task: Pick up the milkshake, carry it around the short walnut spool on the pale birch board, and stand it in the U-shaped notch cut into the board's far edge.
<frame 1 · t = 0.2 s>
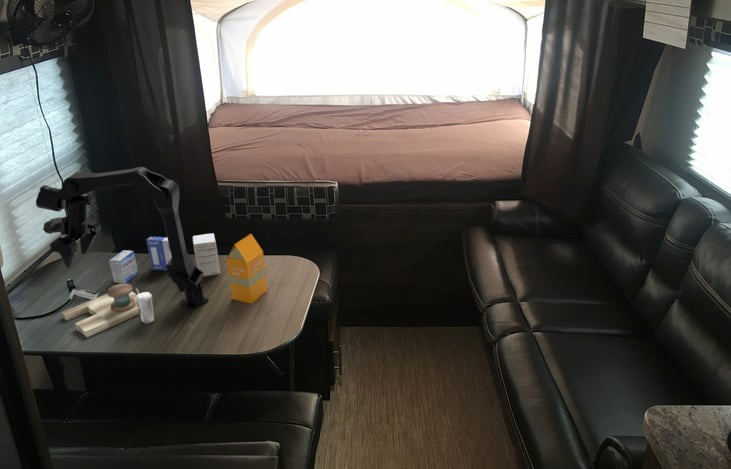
hand: (76, 260, 172), 15 cm above the table, tool pointing down, fingers open, 9 cm apart
spool: (123, 305, 173), resting on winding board
milkshake: (147, 320, 169), on the table
supplement box: (209, 271, 197), on the table
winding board: (107, 313, 173), on the table
medicine box: (126, 278, 194), on the table
orange juice: (249, 295, 182), on the table
walkman: (164, 268, 199), on the table
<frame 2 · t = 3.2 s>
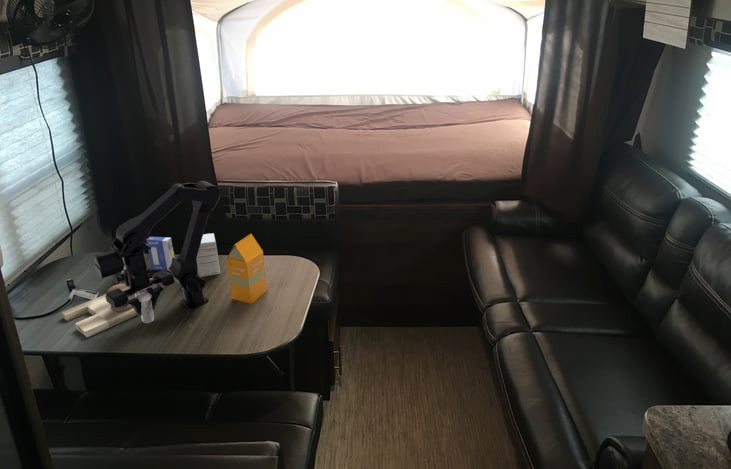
hand: (146, 312, 168), 3 cm above the table, tool pointing down, fingers closed on milkshake, 4 cm apart
milkshake: (147, 320, 169), on the table, touching gripper
everything else where it was.
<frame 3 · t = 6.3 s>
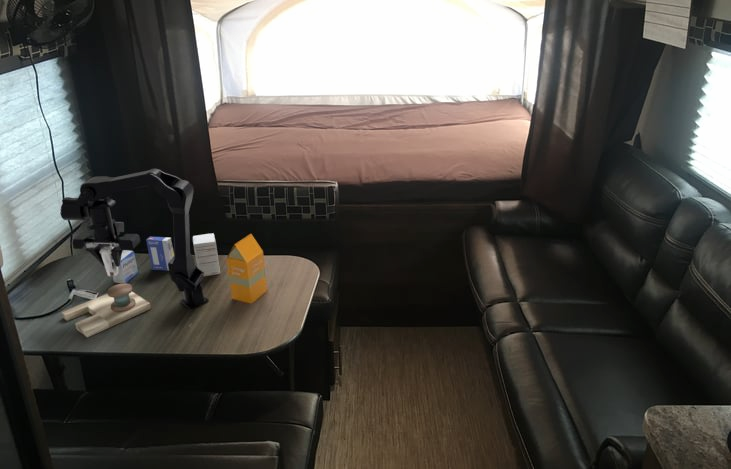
hand: (111, 266, 174), 13 cm above the table, tool pointing down, fingers closed on milkshake, 4 cm apart
milkshake: (113, 273, 175), point 10 cm above the table, touching gripper
everything else where it was.
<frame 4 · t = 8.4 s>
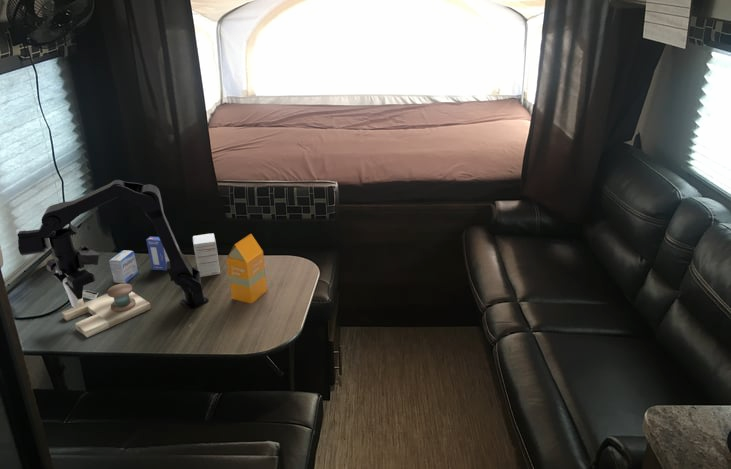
hand: (77, 296, 166), 8 cm above the table, tool pointing down, fingers closed on milkshake, 4 cm apart
milkshake: (79, 304, 168), point 6 cm above the table, touching gripper
everything else where it was.
when the fingers open (3 cm above the table, at t = 9.8 s): milkshake stays where it is, on the table.
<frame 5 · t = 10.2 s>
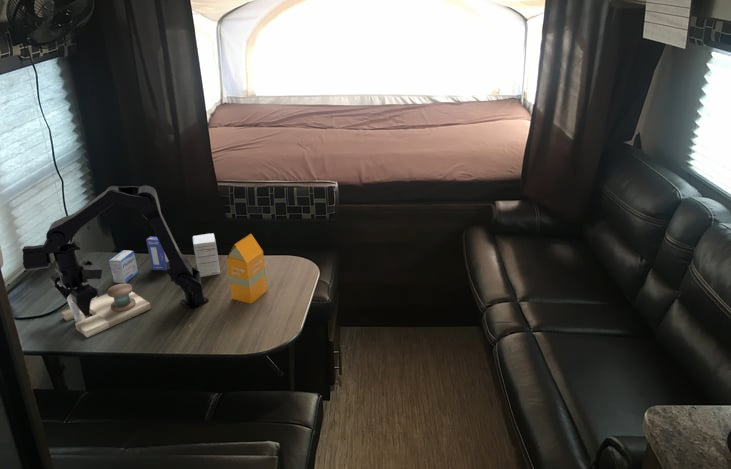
hand: (80, 310, 168), 3 cm above the table, tool pointing down, fingers open, 9 cm apart
milkshake: (83, 320, 170), on the table
everything else where it was.
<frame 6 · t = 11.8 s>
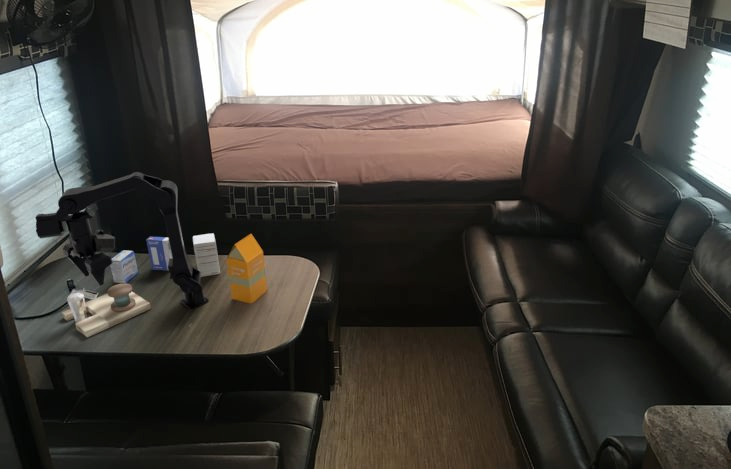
hand: (94, 280, 168), 12 cm above the table, tool pointing down, fingers open, 9 cm apart
nothing on the table moved.
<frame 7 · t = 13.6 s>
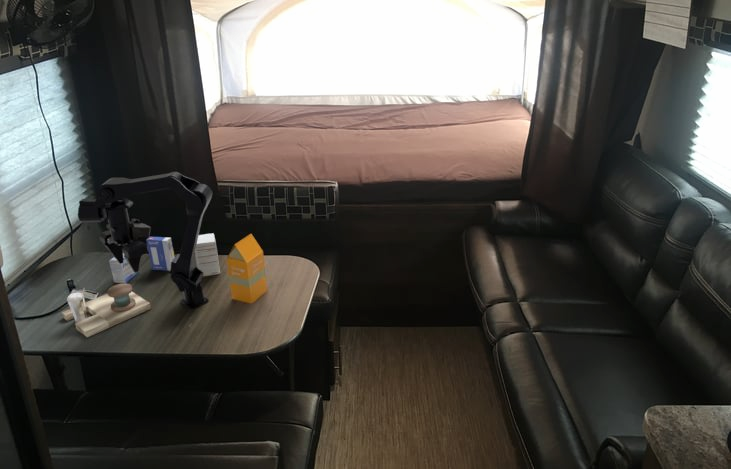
hand: (128, 267, 173), 13 cm above the table, tool pointing down, fingers open, 9 cm apart
nothing on the table moved.
at the end: milkshake 1.3 cm from the target spot on the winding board, point 0.0 cm above the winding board's base; milkshake tilted 0°; the gripper is holding nothing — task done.
